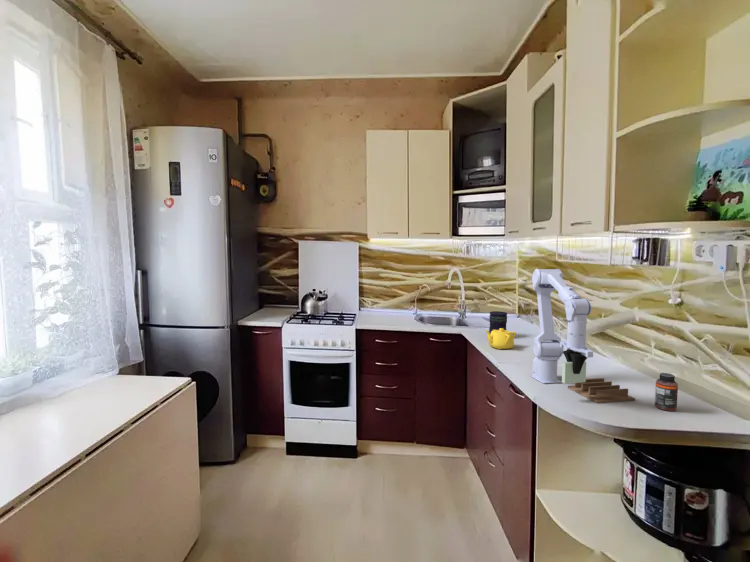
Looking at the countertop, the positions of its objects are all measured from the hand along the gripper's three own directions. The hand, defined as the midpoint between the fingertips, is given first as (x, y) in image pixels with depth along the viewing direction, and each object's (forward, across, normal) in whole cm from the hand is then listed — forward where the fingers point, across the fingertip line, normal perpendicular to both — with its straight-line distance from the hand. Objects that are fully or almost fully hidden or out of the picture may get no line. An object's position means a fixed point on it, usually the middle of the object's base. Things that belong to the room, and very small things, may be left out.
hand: (574, 372), depth 140 cm
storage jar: (+10, -94, +20) cm, 97 cm away
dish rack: (+9, -3, +13) cm, 16 cm away
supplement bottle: (+10, +12, +25) cm, 29 cm away
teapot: (+10, -72, +10) cm, 73 cm away
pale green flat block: (+3, 0, 0) cm, 3 cm away
